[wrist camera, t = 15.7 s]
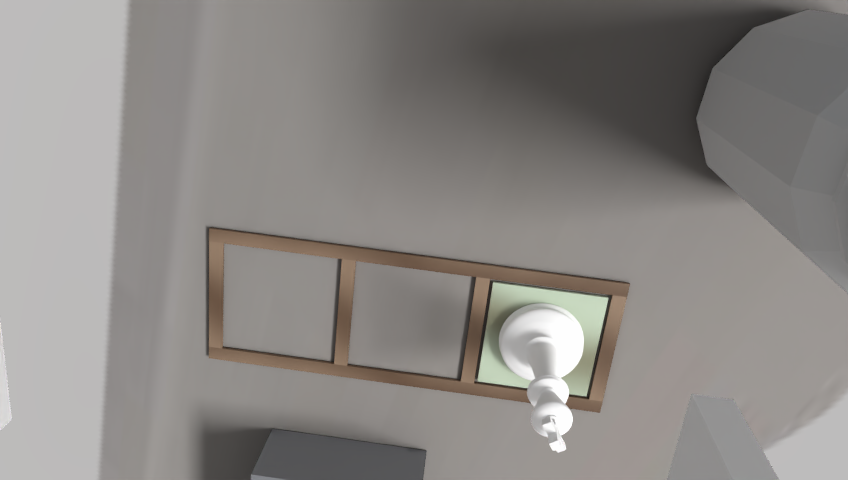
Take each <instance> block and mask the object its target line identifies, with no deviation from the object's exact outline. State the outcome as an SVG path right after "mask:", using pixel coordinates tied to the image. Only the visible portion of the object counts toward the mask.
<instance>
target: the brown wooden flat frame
mask: <svg viewBox="0 0 848 480" xmlns="http://www.w3.org/2000/svg"><path fill="white" fill-rule="evenodd" d="M224 243H226V244H233V245H240V246H248V247H255V248H263V249H270V250H278V251H285V252H293V253H300V254H308V255H315V256H323V257H330V258H338V259H342V263H341V277H340V290H339V304H338V317H337V331H336V344H335V358H334V362H328V361H321V360H314V359H306V358H299V357H292V356H285V355H278V354H270V353H263V352H256V351H249V350H242V349H234V348H227V347H223V275H224ZM356 261H360V262H368V263H375V264H383V265H390V266H398V267H405V268H413V269H420V270H428V271H435V272H442V273H450V274H457V275H465V276H472V277H476V282H475V288H474V295H473V302H472V309H471V315H470V322H469V329H468V335H467V342H466V349H465V356H464V362H463V369H462V376H461V380H457V379H450V378H443V377H436V376H429V375H421V374H414V373H407V372H400V371H393V370H385V369H378V368H371V367H364V366H357V365H350V364H348V352H349V340H350V328H351V316H352V304H353V291H354V279H355V267H356ZM490 279H495V280H502V281H510V282H517V283H525V284H532V285H540V286H547V287H555V288H562V289H570V290H577V291H585V292H592V293H600V294H607V295H612V297H611V301H610V306H609V310H608V315H607V319H606V324H605V328H604V332H603V337H602V341H601V346H600V350H599V355H598V359H597V363H596V368H595V372H594V377H593V381H592V386H591V390H590V395H589V398H587V397H580V396H587V392H588V387H589V383H590V379H591V374H592V370H593V365H594V361H595V356H596V352H597V347H598V343H599V338H600V334H601V329H602V325H603V320H604V316H605V312H606V307H607V303H608V296H601V295H593V294H586V293H578V292H571V291H564V290H556V289H549V288H541V287H534V286H526V285H519V284H511V283H504V282H496V281H493V285H492V292H491V298H490V304H489V311H488V317H487V323H486V330H485V336H484V342H483V349H482V355H481V361H480V368H479V374H478V381H480V382H487V383H494V384H501V385H508V386H516V387H523V388H528V386H529V384H530V383H531V381H530V380H527V379H524V378H522V377H520V376H518V375H517V374H515V373H514V372H513V371H511V370H510V369H509V367H508V366H507V365H506V363H505V362H504V360H503V357H502V355H501V352H500V348H499V334H500V330H501V328H502V326H503V324H504V322H505V321H506V319H507V318H508V317H509V316H510V315H511V314H512V313H513V312H515V311H516V310H518V309H520V308H522V307H524V306H527V305H530V304H536V303H547V304H553V305H556V306H559V307H562V308H564V309H565V310H567V311H568V312H570V313H571V314H572V315H573V316H574V317H575V318H576V319H577V321H578V322H579V324H580V326H581V328H582V331H583V336H584V347H583V353H582V356H581V359H580V361H579V362H578V364H577V365H576V367H575V368H574V369H573V370H572V371H571V372H569V373H568V374H567V375H565V376H563V377H561V379H563V380H564V381H565V382H566V384H567V386H568V389H569V394H573V395H580V396H572V395H569V396H568V399H567V401H566V403H565V404H566V405H567V407H568V408H570V409H577V410H585V411H592V412H599V413H600V410H601V406H602V401H603V397H604V393H605V389H606V384H607V380H608V376H609V371H610V367H611V363H612V359H613V354H614V350H615V346H616V341H617V337H618V333H619V329H620V324H621V320H622V316H623V312H624V307H625V303H626V299H627V294H628V290H629V286H630V284H629V283H626V282H618V281H611V280H603V279H596V278H588V277H581V276H573V275H566V274H558V273H551V272H543V271H536V270H528V269H521V268H513V267H505V266H498V265H490V264H483V263H475V262H468V261H460V260H453V259H445V258H438V257H430V256H423V255H415V254H408V253H400V252H393V251H385V250H378V249H370V248H363V247H355V246H347V245H340V244H332V243H325V242H317V241H310V240H302V239H295V238H287V237H280V236H272V235H265V234H257V233H250V232H242V231H235V230H227V229H220V228H212V227H210V228H209V358H213V359H220V360H227V361H234V362H241V363H248V364H255V365H263V366H270V367H277V368H284V369H291V370H298V371H306V372H313V373H320V374H327V375H334V376H341V377H349V378H356V379H363V380H370V381H377V382H384V383H391V384H399V385H406V386H413V387H420V388H427V389H434V390H442V391H449V392H456V393H463V394H470V395H477V396H484V397H492V398H499V399H506V400H513V401H520V402H527V403H531V402H530V401H529V399H528V396H527V389H522V388H515V387H508V386H501V385H493V384H486V383H479V382H474V380H475V373H476V367H477V360H478V354H479V348H480V341H481V335H482V328H483V322H484V316H485V309H486V303H487V296H488V290H489V284H490Z"/></svg>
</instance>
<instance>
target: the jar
mask: <svg viewBox="0 0 848 480" xmlns="http://www.w3.org/2000/svg"><path fill="white" fill-rule="evenodd" d="M696 120H697V124H698V129H699V133H700V138H701V142H702V146H703V151H704V155H705V159H706V164H707V166H708V167H709V168H711V169H712V170H713V171H714V172H715V173H716V174H717V175H718V176H719V177H720V178H721V179H722V180H723V181H724V182H725V183H727V184H728V185H729V186H730V187H731V188H732V189H733V190H734V191H735V192H736V193H737V194H738V195H739V196H740V197H741V198H743V199H744V200H745V201H746V202H747V203H748V204H749V205H750V206H751V207H753V208H754V209H755V210H756V211H757V212H758V213H759V214H760V215H761V216H762V217H764V218H765V219H766V220H767V221H768V222H769V223H770V224H771V225H772V226H773V227H775V228H776V229H777V230H778V231H779V232H780V233H781V234H782V235H783V236H784V237H786V238H787V239H788V240H789V241H790V242H791V243H792V244H793V245H794V246H795V247H797V248H798V249H799V250H800V251H801V252H802V253H803V254H804V255H805V256H806V257H808V258H809V259H810V260H811V261H812V262H813V263H814V264H815V265H816V266H817V267H819V268H820V269H821V270H822V271H823V272H824V273H825V274H826V275H827V276H829V277H830V278H831V279H832V280H833V281H834V282H835V283H836V284H837V285H838V286H840V287H841V288H842V289H843V290H844V291H845V292H846V293H847V294H848V15H847V14H839V13H832V12H824V11H817V10H809V9H808V10H805V11H802V12H799V13H796V14H793V15H790V16H787V17H784V18H781V19H778V20H775V21H772V22H769V23H766V24H763V25H760V26H757V27H754V28H753V29H752V30H751V31H750V32H749V33H748V34H747V35H746V36H745V37H743V38H742V39H741V40H740V41H739V42H738V43H737V44H736V45H735V46H734V47H733V48H732V49H731V50H730V51H729V52H728V53H727V54H726V55H725V56H724V57H723V58H722V59H721V60H720V61H719V62H718V63H717V64H716V65H715V66H714V67H713V68H712V71H711V74H710V78H709V81H708V84H707V87H706V90H705V93H704V96H703V99H702V102H701V105H700V108H699V111H698V114H697V117H696Z"/></svg>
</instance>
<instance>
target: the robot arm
mask: <svg viewBox="0 0 848 480" xmlns="http://www.w3.org/2000/svg"><path fill="white" fill-rule="evenodd" d="M11 419H12V417H11V408H10V399H9V391H8V382H7V373H6V365H5V356H4V348H3V339H2V331H1V321H0V430H1V429H2V428H3V427H4V426H5V425H6V424H7V423H8V422H9V421H11ZM667 480H779V479H778V477H777V475H776V473H775V472H774V470H773V468H772V466H771V465H770V463H769V461H768V460H767V458H766V456H765V454H764V452H763V450H762V449H761V447H760V445H759V443H758V442H757V440H756V438H755V436H754V435H753V433H752V431H751V429H750V428H749V426H748V424H747V422H746V420H745V419H744V417H743V415H742V413H741V412H740V410H739V408H738V406H737V405H736V403H735V401H734V399H726V398H719V397H712V396H705V395H697V394H691V397H690V401H689V404H688V408H687V411H686V415H685V418H684V422H683V425H682V429H681V432H680V436H679V439H678V443H677V446H676V450H675V453H674V457H673V460H672V464H671V467H670V471H669V475H668V478H667Z"/></svg>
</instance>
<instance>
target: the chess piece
mask: <svg viewBox="0 0 848 480" xmlns="http://www.w3.org/2000/svg"><path fill="white" fill-rule="evenodd" d="M583 347H584V336H583V331H582V328H581V326H580V324H579V322H578V321H577V319H576V318H575V317H574V316H573V315H572V314H571V313H570V312H568V311H567V310H565V309H564V308H562V307H559V306H556V305H553V304H547V303H536V304H530V305H527V306H524V307H522V308H520V309H518V310H516V311H515V312H513V313H512V314H511V315H510V316H509V317H508V318H507V319H506V321H505V322H504V324H503V326H502V328H501V330H500V334H499V348H500V352H501V355H502V357H503V360H504V362H505V363H506V365H507V366H508V367H509V369H510V370H511V371H513V372H514V373H515V374H517V375H518V376H520V377H522V378H524V379H527V380H530V381H531V383H530V384H529V386H528V389H527V396H528V399H529V401H530V402H531V404H532V405H533V406H534V409H533V411H532V414H531V424H532V427H533V428H534V430H535V431H536V432H537V433H539V434H540V435H542V436H545V437H548V440H549V445H550V446H551V448H552V450H553V451H554V450H556V451H557V453H558V452H561V451H564V450H566V446H565V443H564V441H563V439H562V437H561V435H563V434H565V433H566V432H567V431H568V430H569V429H570V427H571V425H572V421H573V417H572V413H571V411H570V409H569V408H568V407H567V405H566V404H565V403H566V401H567V399H568V396H569V389H568V386H567V384H566V382H565V381H564V380H563V379H561V377H563V376H565V375H567V374H568V373H569V372H571V371H572V370H573V369H574V368H575V367H576V365H577V364H578V362H579V361H580V359H581V356H582V353H583Z"/></svg>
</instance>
